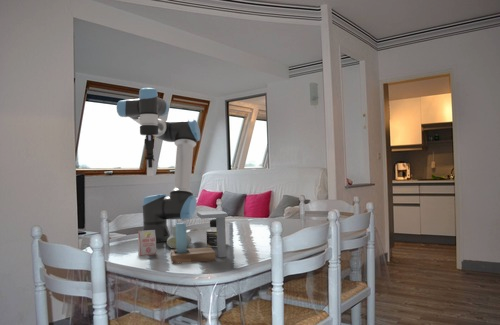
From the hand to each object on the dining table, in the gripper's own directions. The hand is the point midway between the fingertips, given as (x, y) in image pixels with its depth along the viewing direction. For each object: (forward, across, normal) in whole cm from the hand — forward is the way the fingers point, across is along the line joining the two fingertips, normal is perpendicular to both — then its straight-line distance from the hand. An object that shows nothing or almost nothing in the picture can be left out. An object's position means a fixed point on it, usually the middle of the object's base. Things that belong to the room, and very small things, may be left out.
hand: (150, 176), depth 165 cm
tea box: (+33, -2, -2) cm, 33 cm away
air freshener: (+33, -12, +12) cm, 37 cm away
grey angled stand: (+33, +15, +23) cm, 43 cm away
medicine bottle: (+33, -10, +29) cm, 45 cm away
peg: (+33, +15, +11) cm, 38 cm away
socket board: (+33, +15, +15) cm, 39 cm away
